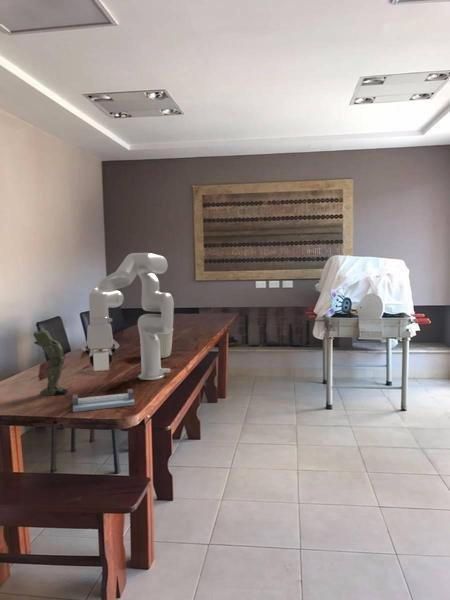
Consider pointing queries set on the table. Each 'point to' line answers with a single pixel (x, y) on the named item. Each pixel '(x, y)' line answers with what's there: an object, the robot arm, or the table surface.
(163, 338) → the canister
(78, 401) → the rail
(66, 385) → the table surface
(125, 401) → the board
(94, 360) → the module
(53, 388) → the green creature figurine
